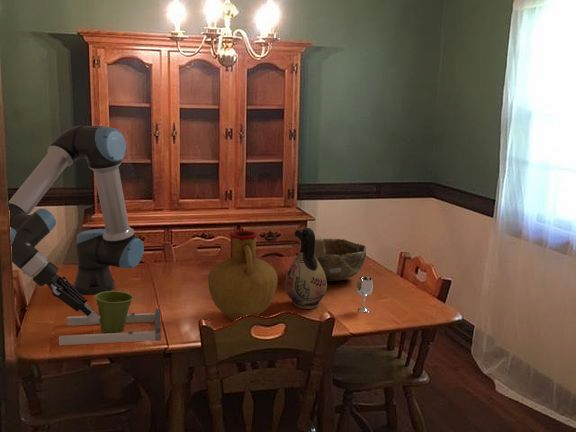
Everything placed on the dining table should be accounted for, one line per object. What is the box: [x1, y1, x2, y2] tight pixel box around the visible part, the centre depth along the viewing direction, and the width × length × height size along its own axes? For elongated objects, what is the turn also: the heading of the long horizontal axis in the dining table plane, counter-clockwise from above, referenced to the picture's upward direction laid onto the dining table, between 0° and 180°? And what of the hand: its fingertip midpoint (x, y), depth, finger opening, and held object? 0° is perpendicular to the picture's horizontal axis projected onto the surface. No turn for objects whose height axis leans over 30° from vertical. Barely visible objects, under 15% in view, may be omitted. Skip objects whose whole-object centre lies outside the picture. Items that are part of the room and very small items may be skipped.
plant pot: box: [94, 290, 134, 334], centre depth 201 cm, size 12×12×11 cm
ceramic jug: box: [284, 227, 328, 310], centre depth 228 cm, size 17×15×30 cm
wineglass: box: [356, 276, 374, 313], centre depth 226 cm, size 6×6×12 cm
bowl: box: [314, 238, 367, 282], centre depth 261 cm, size 28×27×15 cm
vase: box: [207, 230, 278, 321], centre depth 214 cm, size 24×24×30 cm
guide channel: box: [58, 308, 161, 346], centre depth 201 cm, size 30×18×4 cm, turn 101°
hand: (97, 319), depth 198 cm, fingers closed
